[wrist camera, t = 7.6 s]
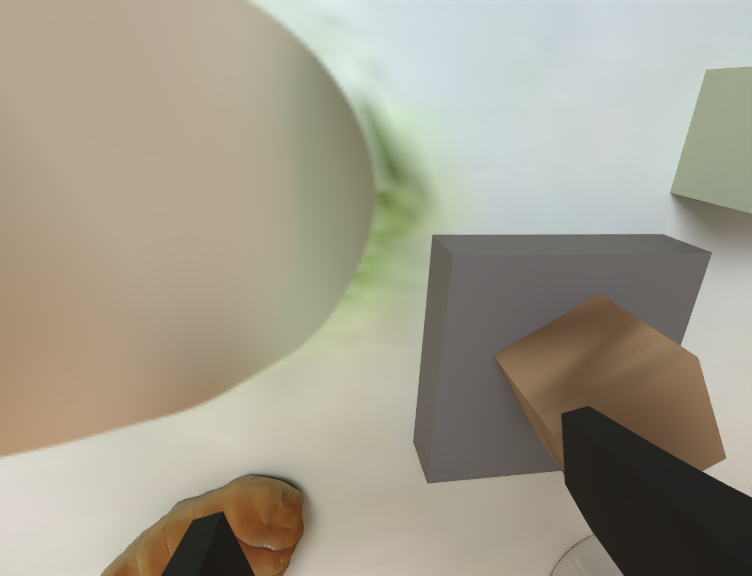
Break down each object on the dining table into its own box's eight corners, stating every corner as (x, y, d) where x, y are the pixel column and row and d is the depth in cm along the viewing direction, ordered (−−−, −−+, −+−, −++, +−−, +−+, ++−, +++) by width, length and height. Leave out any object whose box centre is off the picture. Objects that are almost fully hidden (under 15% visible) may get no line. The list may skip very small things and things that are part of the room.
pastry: (226, 434, 20) (211, 507, 16) (340, 500, 22) (348, 575, 19) (98, 563, 21) (60, 654, 18) (218, 611, 24) (205, 698, 20)
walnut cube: (599, 293, 17) (698, 357, 13) (631, 378, 19) (726, 457, 14) (492, 354, 17) (554, 436, 13) (534, 432, 19) (600, 525, 15)
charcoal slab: (653, 231, 20) (711, 252, 17) (600, 420, 23) (640, 463, 21) (429, 231, 18) (452, 255, 15) (410, 434, 22) (427, 483, 19)
